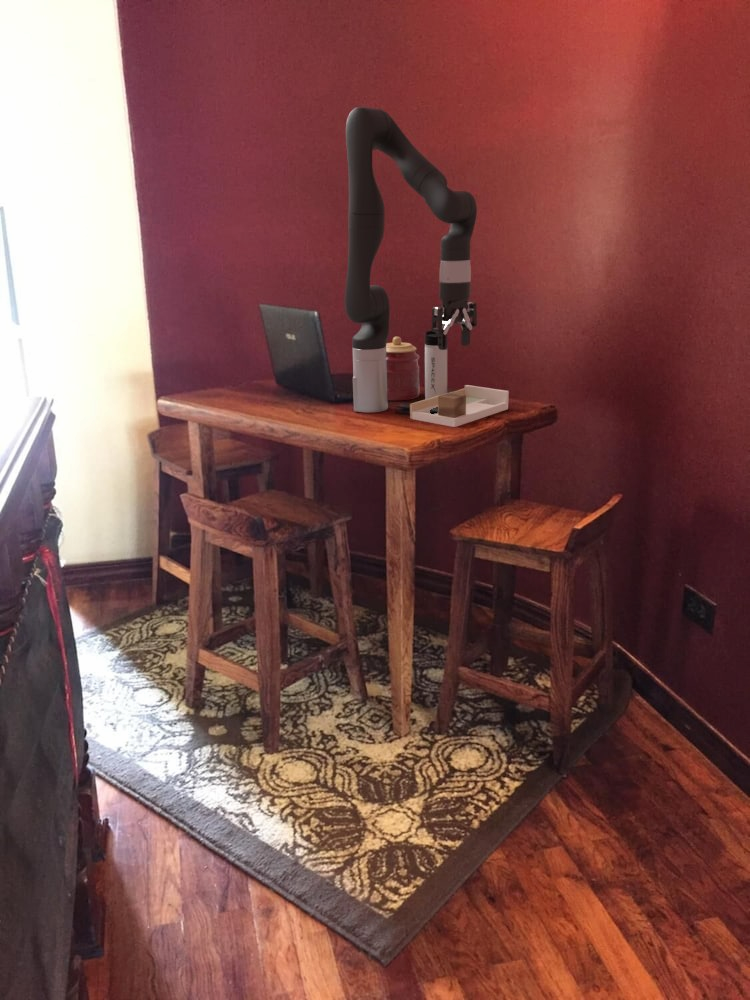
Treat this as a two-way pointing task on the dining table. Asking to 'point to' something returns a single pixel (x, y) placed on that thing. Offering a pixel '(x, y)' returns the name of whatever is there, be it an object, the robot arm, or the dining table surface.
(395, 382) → the canister
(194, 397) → the dining table surface
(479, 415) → the tray
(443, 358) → the travel mug
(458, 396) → the block
